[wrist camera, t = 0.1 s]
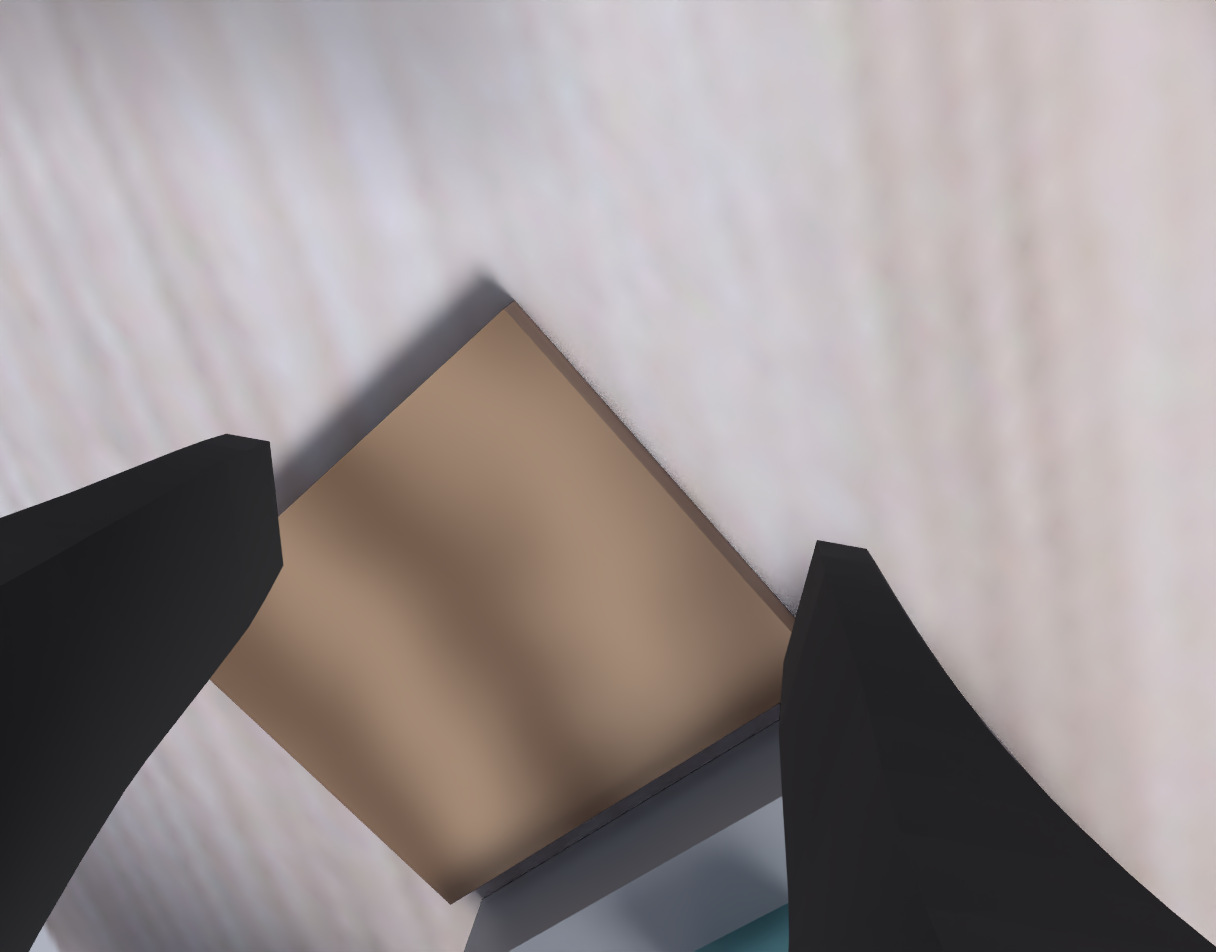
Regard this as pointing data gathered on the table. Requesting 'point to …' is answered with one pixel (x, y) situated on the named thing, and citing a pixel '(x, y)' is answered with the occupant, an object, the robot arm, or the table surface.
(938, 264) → the table surface
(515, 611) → the walnut board
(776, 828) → the pocket plate
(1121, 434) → the table surface
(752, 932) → the teal block
